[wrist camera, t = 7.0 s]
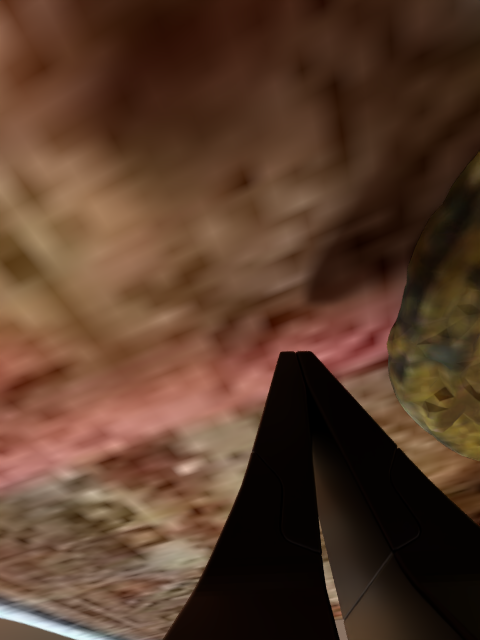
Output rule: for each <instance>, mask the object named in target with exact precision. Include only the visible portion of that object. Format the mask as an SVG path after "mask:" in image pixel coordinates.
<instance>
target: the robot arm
mask: <svg viewBox="0 0 480 640" xmlns="http://www.w3.org/2000/svg"><path fill="white" fill-rule="evenodd" d="M318 516H319V518H318ZM319 520H320V524H321V529H322V533H323V537H324V541H325V545H326V549H327V554H328V558H329V562H330V566H331V570H332V575H333V579H334V583H335V587H336V591H337V595H338V600H339V604H340V608H341V612H342V616H343V619H344V625H345V629H346V634H347V638H348V640H480V527H479V526H478V525H477V524H476V523H475V522H474V521H473V520H472V519H471V518H470V517H468V516H467V515H466V514H465V513H464V512H463V511H462V510H461V509H460V508H459V507H458V506H457V505H455V504H454V503H453V502H452V501H451V500H450V499H449V498H448V497H447V496H446V495H445V494H444V493H443V492H442V491H441V490H440V489H439V488H437V487H436V486H435V485H434V484H433V483H432V482H431V481H430V480H429V479H428V478H427V477H426V476H425V475H424V474H423V473H422V472H421V470H420V469H419V468H418V467H417V466H416V465H415V464H414V463H413V462H412V461H411V460H410V459H409V458H408V457H407V456H406V454H405V453H404V452H403V451H402V450H401V449H400V448H397V445H396V444H395V443H394V441H393V440H392V439H391V438H390V437H389V436H388V435H387V434H386V433H385V432H384V430H383V429H382V428H381V427H380V426H379V425H378V424H377V423H376V422H375V421H374V419H373V418H372V417H371V416H370V415H369V414H368V413H367V412H366V411H365V410H364V408H363V407H362V406H361V405H360V404H359V403H358V402H357V401H356V400H355V399H354V397H353V396H352V395H351V394H350V393H349V392H348V391H347V390H346V389H345V388H344V386H343V385H342V384H341V383H340V382H339V381H338V380H337V379H336V378H335V377H334V375H333V374H332V373H331V372H330V371H329V370H328V369H327V368H326V367H325V366H324V365H323V363H322V362H321V361H320V360H319V359H318V358H317V357H316V356H315V355H314V354H313V353H312V352H311V351H298V352H296V353H295V352H294V351H286V352H280V354H279V358H278V361H277V365H276V368H275V372H274V375H273V379H272V382H271V386H270V389H269V393H268V396H267V400H266V403H265V407H264V411H263V414H262V418H261V421H260V425H259V428H258V432H257V435H256V439H255V442H254V446H253V449H252V453H251V456H250V459H249V463H248V466H247V469H246V473H245V476H244V479H243V482H242V485H241V488H240V490H239V492H238V495H237V497H236V500H235V502H234V505H233V507H232V510H231V512H230V514H229V516H228V518H227V521H226V523H225V525H224V527H223V530H222V532H221V534H220V536H219V539H218V541H217V543H216V545H215V548H214V550H213V552H212V554H211V557H210V559H209V561H208V563H207V565H206V567H205V570H204V572H203V574H202V576H201V578H200V580H199V581H198V583H197V585H196V587H195V589H194V591H193V593H192V594H191V596H190V597H189V599H188V601H187V602H186V604H185V605H184V607H183V608H182V610H181V612H180V613H179V615H178V616H177V618H176V619H175V621H174V623H173V624H172V626H171V627H170V629H169V630H168V632H167V634H166V635H165V637H164V638H163V640H340V639H339V635H338V631H337V628H336V624H335V620H334V616H333V612H332V608H331V605H330V601H329V597H328V593H327V589H326V583H325V577H324V569H323V561H322V556H321V555H322V549H321V539H320V528H319Z"/></svg>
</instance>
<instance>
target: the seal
mask: <svg viewBox="0 0 480 640" xmlns="http://www.w3.org/2000/svg"><path fill="white" fill-rule="evenodd" d="M387 349H388V354H389V359H388V371H389V377H390V381H391V384H392V386H393V389H394V392H395V394H396V397H397V399H398V401H399V402H400V404H401V405H402V407H403V408H404V410H405V411H406V412H407V413H408V414H409V415H410V417H411V418H412V419H413V420H414V421H415V422H416V423H417V424H418V425H420V426H421V427H422V428H423V429H424V430H425V431H426V432H428V433H430V434H431V435H433V436H434V437H435V438H436V439H437V440H438V441H440V442H441V443H442V444H443V445H445V446H446V447H448V448H449V449H451V450H452V451H454V452H456V453H458V454H460V455H462V456H465V457H468V458H471V459H474V460H477V461H480V151H479V152H478V153H477V155H476V156H475V157H474V159H473V160H472V161H471V162H470V163H469V164H468V165H467V167H466V168H465V169H464V171H463V172H462V174H461V175H460V176H459V177H458V178H457V180H456V181H455V183H454V184H453V186H452V187H451V189H450V191H449V193H448V195H447V197H446V199H445V201H444V203H443V204H442V206H440V207H439V208H438V210H437V211H436V212H435V213H434V214H433V215H432V217H431V218H430V219H429V221H428V223H427V225H426V227H425V229H424V230H423V232H422V234H421V236H420V238H419V240H418V242H417V245H416V247H415V249H414V252H413V255H412V258H411V260H410V263H409V265H408V268H407V284H406V286H405V289H404V294H403V298H402V304H401V309H400V312H399V314H398V318H397V321H396V323H395V324H394V326H393V327H392V329H391V331H390V334H389V337H388V341H387Z"/></svg>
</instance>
